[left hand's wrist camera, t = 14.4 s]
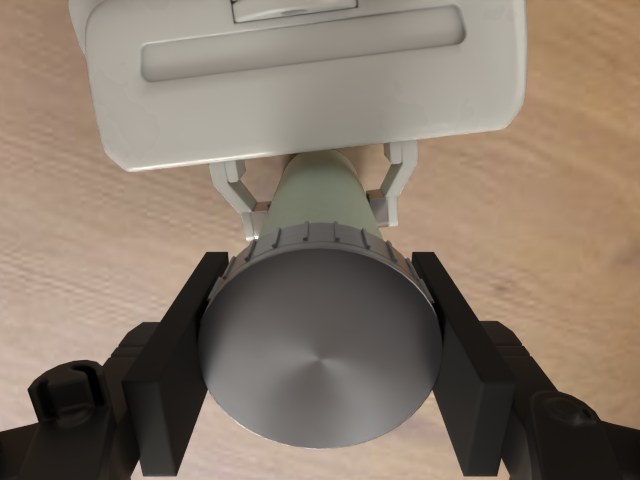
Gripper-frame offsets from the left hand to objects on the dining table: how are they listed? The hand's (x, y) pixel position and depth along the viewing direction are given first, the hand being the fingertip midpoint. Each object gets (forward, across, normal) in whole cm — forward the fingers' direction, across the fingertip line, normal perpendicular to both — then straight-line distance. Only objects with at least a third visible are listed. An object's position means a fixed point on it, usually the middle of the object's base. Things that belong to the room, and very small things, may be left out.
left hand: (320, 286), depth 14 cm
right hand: (+8, 0, -1) cm, 8 cm away
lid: (-4, 0, 0) cm, 4 cm away
